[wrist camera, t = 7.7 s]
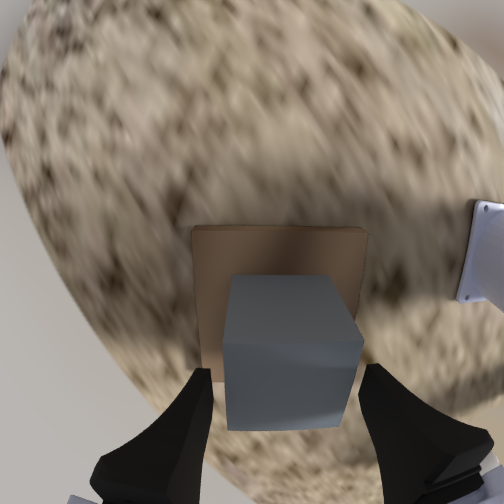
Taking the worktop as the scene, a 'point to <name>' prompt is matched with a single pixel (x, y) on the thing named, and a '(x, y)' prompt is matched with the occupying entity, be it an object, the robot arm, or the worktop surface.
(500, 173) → the worktop surface
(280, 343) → the blue-grey block
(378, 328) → the worktop surface
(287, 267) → the brown base with post
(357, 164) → the worktop surface
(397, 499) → the robot arm
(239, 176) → the worktop surface
